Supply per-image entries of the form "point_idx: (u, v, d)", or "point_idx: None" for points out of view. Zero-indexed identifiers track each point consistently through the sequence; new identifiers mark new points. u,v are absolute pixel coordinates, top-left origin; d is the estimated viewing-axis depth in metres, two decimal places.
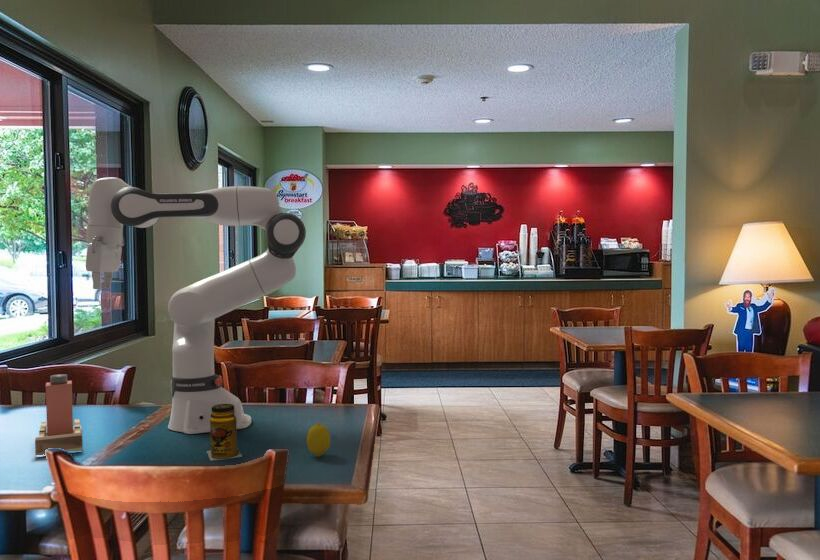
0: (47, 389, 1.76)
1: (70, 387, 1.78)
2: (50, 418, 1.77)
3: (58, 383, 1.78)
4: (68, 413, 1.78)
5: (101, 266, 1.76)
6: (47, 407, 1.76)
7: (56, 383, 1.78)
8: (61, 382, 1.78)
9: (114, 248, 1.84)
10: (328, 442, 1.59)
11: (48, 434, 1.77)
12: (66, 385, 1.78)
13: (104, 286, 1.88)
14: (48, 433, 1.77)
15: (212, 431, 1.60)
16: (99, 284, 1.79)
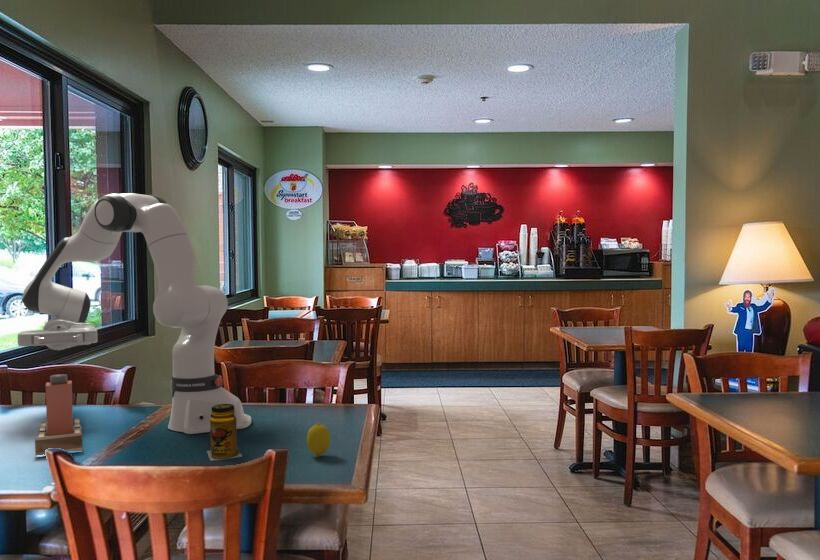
0: (47, 389, 1.76)
1: (70, 387, 1.78)
2: (50, 418, 1.77)
3: (58, 383, 1.78)
4: (68, 413, 1.78)
5: (23, 333, 1.90)
6: (47, 407, 1.76)
7: (56, 383, 1.78)
8: (61, 382, 1.78)
9: (54, 325, 1.98)
10: (328, 442, 1.59)
11: (48, 434, 1.77)
12: (66, 385, 1.78)
13: None
14: (48, 433, 1.77)
15: (212, 431, 1.60)
16: (38, 338, 1.87)
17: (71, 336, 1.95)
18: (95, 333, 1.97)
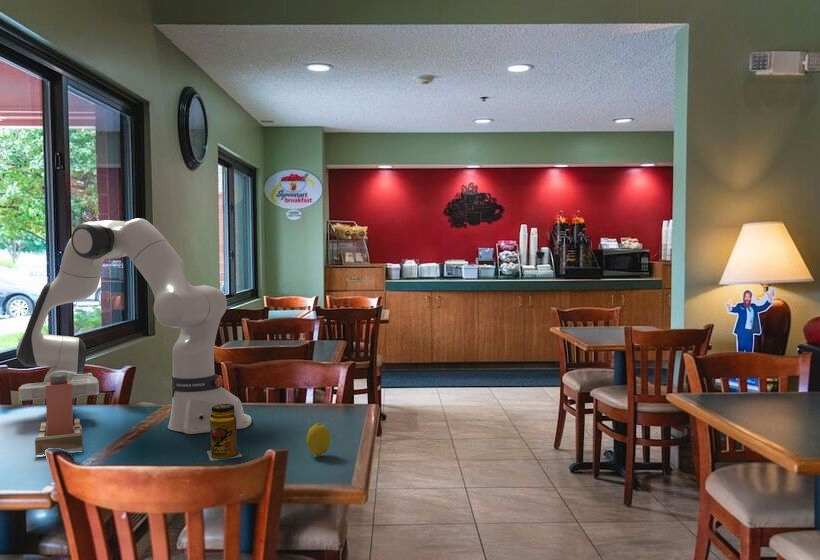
0: (47, 389, 1.76)
1: (70, 387, 1.78)
2: (50, 418, 1.77)
3: (58, 383, 1.78)
4: (68, 413, 1.78)
5: (23, 387, 1.88)
6: (47, 407, 1.76)
7: (56, 383, 1.78)
8: (61, 382, 1.78)
9: None
10: (328, 442, 1.59)
11: (48, 434, 1.77)
12: (66, 385, 1.78)
13: None
14: (48, 433, 1.77)
15: (212, 431, 1.60)
16: None
17: (72, 389, 1.93)
18: (96, 385, 1.95)
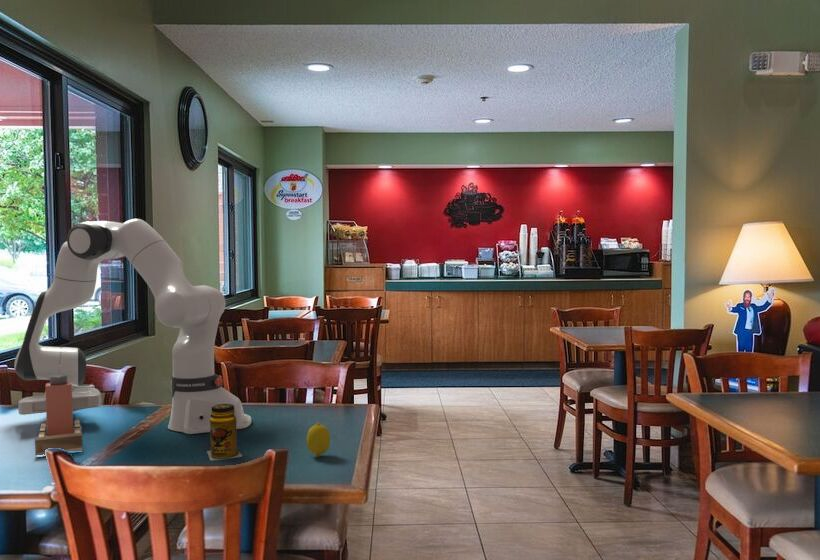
0: (47, 390, 1.75)
1: (70, 388, 1.78)
2: (49, 419, 1.76)
3: (58, 384, 1.77)
4: (68, 414, 1.78)
5: (23, 400, 1.83)
6: (47, 408, 1.75)
7: (56, 384, 1.77)
8: (61, 383, 1.77)
9: None
10: (328, 442, 1.59)
11: (48, 435, 1.76)
12: (66, 386, 1.77)
13: None
14: (48, 434, 1.76)
15: (212, 431, 1.60)
16: None
17: (74, 401, 1.87)
18: (98, 397, 1.90)
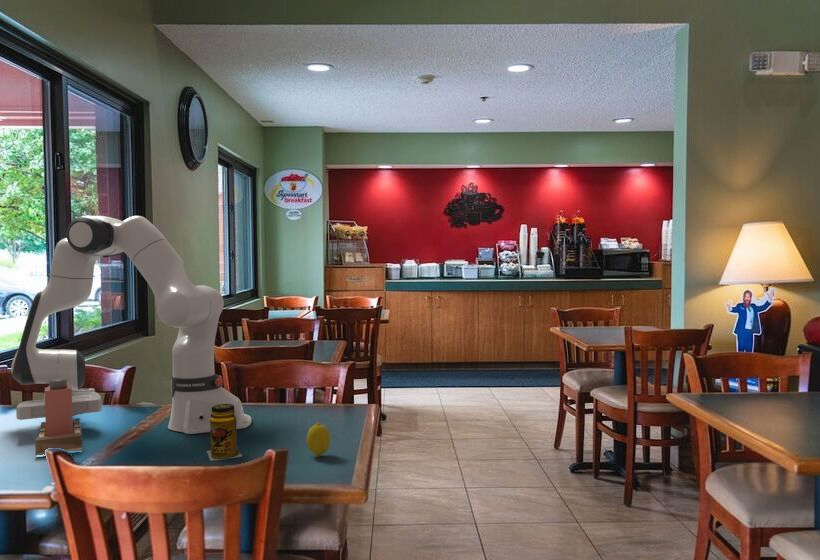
0: (46, 394, 1.69)
1: (70, 392, 1.72)
2: (49, 424, 1.70)
3: (57, 388, 1.71)
4: (68, 419, 1.72)
5: (22, 405, 1.77)
6: (46, 413, 1.70)
7: (55, 388, 1.71)
8: (61, 387, 1.71)
9: None
10: (328, 442, 1.59)
11: None
12: (66, 390, 1.71)
13: None
14: None
15: (212, 431, 1.60)
16: None
17: (73, 406, 1.82)
18: (99, 402, 1.84)
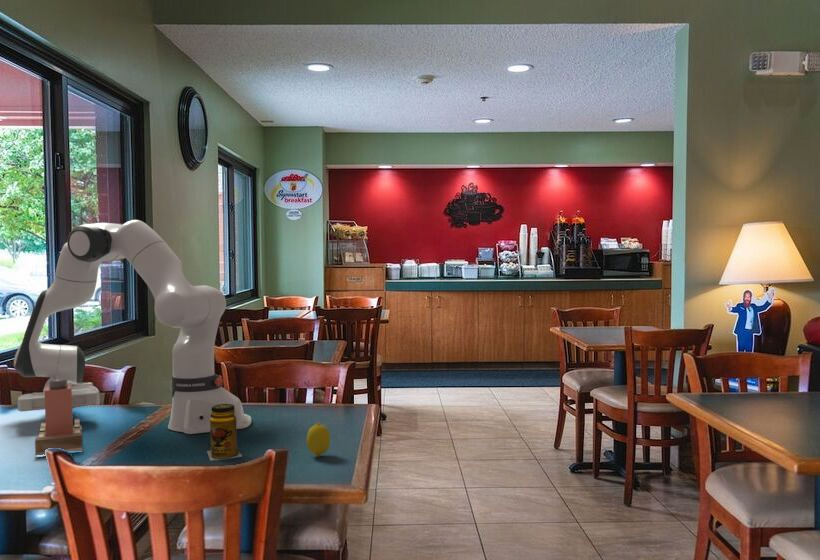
0: (46, 394, 1.69)
1: (70, 392, 1.72)
2: (49, 424, 1.70)
3: (57, 388, 1.71)
4: (68, 420, 1.72)
5: (23, 397, 1.85)
6: (46, 413, 1.70)
7: (55, 388, 1.71)
8: (61, 387, 1.71)
9: None
10: (328, 442, 1.59)
11: None
12: (66, 390, 1.71)
13: None
14: None
15: (212, 431, 1.60)
16: None
17: (72, 399, 1.90)
18: (97, 395, 1.92)
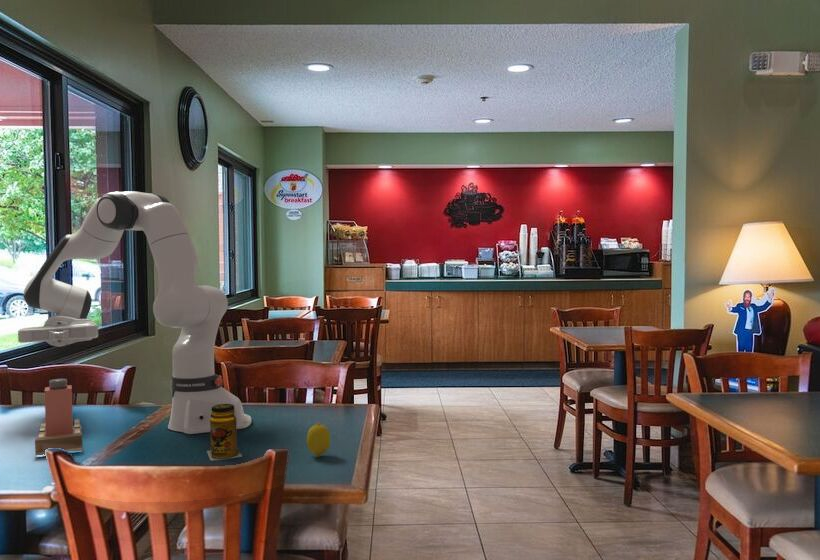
0: (46, 394, 1.69)
1: (70, 392, 1.72)
2: (49, 424, 1.70)
3: (57, 388, 1.71)
4: (68, 420, 1.72)
5: (23, 329, 1.90)
6: (46, 413, 1.70)
7: (55, 388, 1.71)
8: (61, 387, 1.71)
9: (54, 322, 1.98)
10: (328, 442, 1.59)
11: None
12: (66, 390, 1.71)
13: None
14: None
15: (212, 431, 1.60)
16: (52, 333, 1.89)
17: (71, 331, 1.95)
18: (95, 328, 1.97)
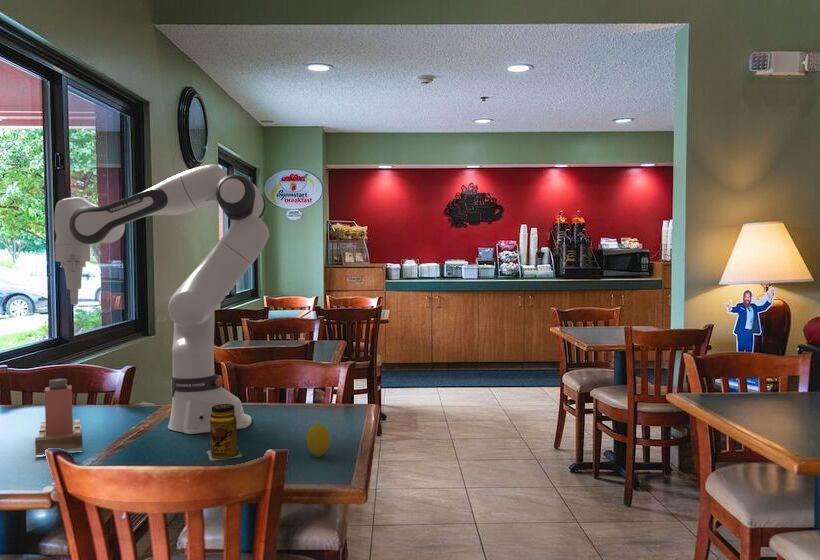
0: (46, 394, 1.69)
1: (70, 392, 1.72)
2: (49, 424, 1.70)
3: (57, 388, 1.71)
4: (68, 420, 1.72)
5: None
6: (46, 413, 1.70)
7: (55, 388, 1.71)
8: (61, 387, 1.71)
9: (84, 265, 1.93)
10: (328, 442, 1.59)
11: None
12: (66, 390, 1.71)
13: None
14: None
15: (212, 431, 1.60)
16: (77, 300, 1.92)
17: None
18: None
